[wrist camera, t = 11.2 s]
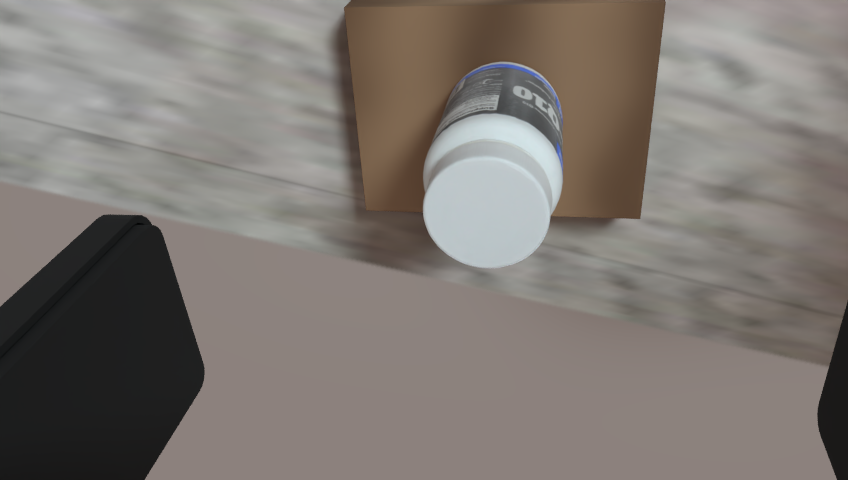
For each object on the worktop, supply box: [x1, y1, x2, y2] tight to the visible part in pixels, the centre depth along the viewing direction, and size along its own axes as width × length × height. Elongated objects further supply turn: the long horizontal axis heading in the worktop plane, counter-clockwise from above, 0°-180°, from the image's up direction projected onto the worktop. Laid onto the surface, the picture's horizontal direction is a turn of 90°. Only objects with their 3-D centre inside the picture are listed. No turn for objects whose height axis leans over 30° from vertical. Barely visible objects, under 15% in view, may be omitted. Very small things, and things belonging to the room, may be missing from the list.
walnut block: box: [344, 0, 666, 219], centre depth 30 cm, size 12×9×2 cm
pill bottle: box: [423, 62, 563, 268], centre depth 26 cm, size 5×5×8 cm
